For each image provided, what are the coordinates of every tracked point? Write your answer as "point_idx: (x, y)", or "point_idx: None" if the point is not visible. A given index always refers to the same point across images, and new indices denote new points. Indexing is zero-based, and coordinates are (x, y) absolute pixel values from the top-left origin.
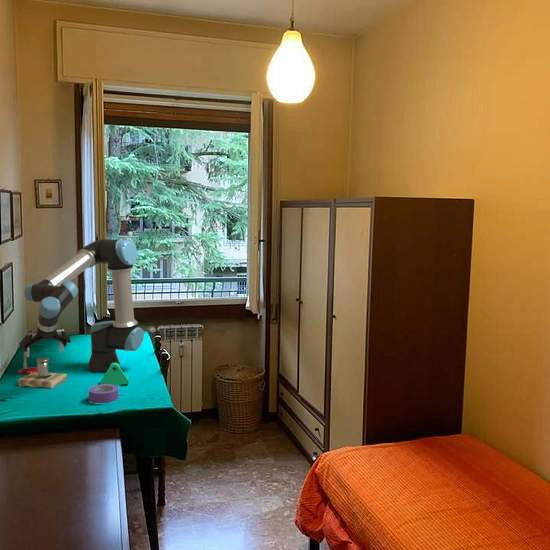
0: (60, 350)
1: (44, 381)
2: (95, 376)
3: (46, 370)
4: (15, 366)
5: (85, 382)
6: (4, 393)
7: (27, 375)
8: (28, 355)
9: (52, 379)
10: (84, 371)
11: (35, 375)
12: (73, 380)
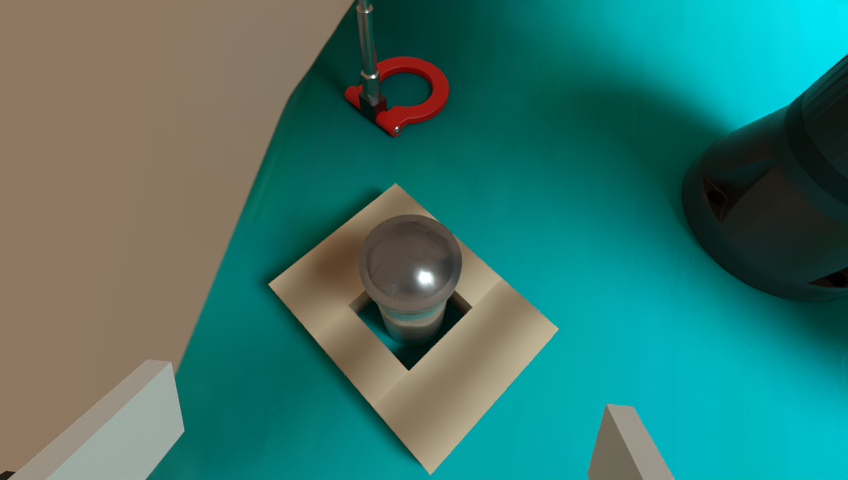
0: (600, 477)
1: (392, 428)
2: (724, 353)
3: (429, 321)
4: None
5: None
6: None
7: (339, 230)
8: (155, 459)
9: (451, 409)
10: (659, 221)
11: None
12: (584, 362)
